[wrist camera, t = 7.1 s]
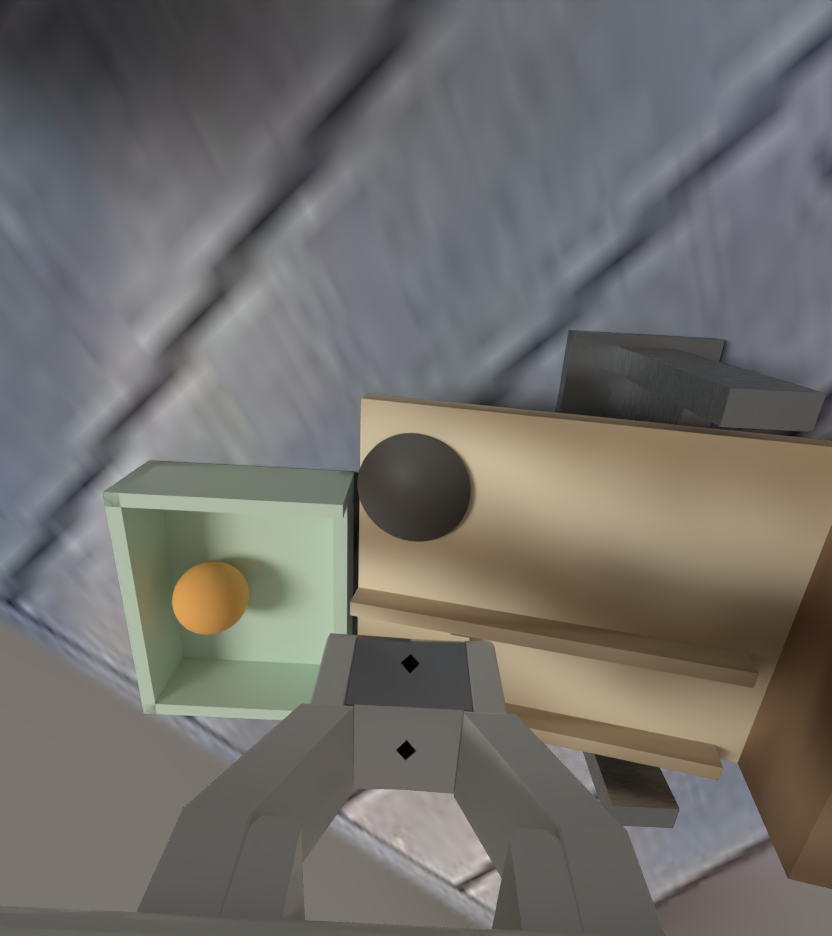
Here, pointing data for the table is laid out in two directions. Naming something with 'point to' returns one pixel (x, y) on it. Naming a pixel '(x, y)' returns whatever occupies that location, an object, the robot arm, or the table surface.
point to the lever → (620, 587)
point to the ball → (210, 597)
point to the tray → (259, 560)
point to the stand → (680, 403)
